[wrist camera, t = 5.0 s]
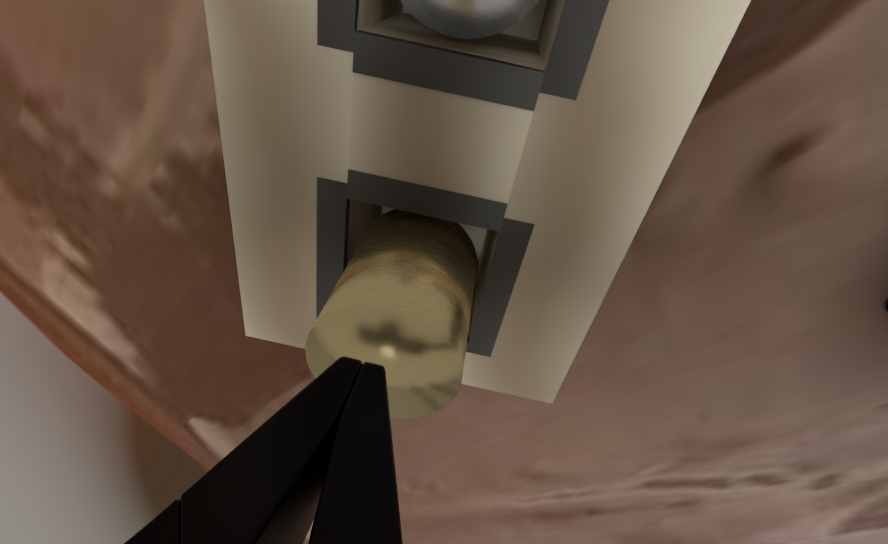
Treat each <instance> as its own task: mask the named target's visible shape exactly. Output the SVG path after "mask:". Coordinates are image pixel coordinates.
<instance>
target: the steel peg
mask: <svg viewBox="0 0 888 544" xmlns="http://www.w3.org/2000/svg"><path fill="white" fill-rule="evenodd" d="M539 1H540V0H400V2H401V3H402V4H403V6H404V7H405V8H406V9H407V10H408V11H409V12H410V13H411V15H412V16H414V17H415V18H416V19H417V20H418V21H420V22H421V23H422V24H424V25H425V26H427V27H428V28H430V29H431V30H434V31H436V32H438V33H440V34H443V35H446V36H450V37H453V38H461V39H477V38H483V37H488V36H491V35H494V34H497V33H499V32H502V31H504V30H506V29H508V28H509V27H511V26H513V25H514V24H516V23H517V22H519V21H520V20H521V19H522V18H523V17H525V16H526V15H527V14H528V13H529V12H530V11H531V10H532V9H533V8H534V7H535V6H536V5H537V3H538V2H539Z"/></svg>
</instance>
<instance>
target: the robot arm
mask: <svg viewBox="0 0 888 544" xmlns="http://www.w3.org/2000/svg"><path fill="white" fill-rule="evenodd" d="M886 310H887V312H888V305H887V306H886ZM314 517H315V518H314ZM313 520H314V522H313ZM312 522H313V526H312V530H311V535H310V539H309V543H308V544H403V543H402V533H401V523H400V513H399V503H398V493H397V483H396V473H395V463H394V453H393V443H392V432H391V422H390V412H389V402H388V392H387V382H386V372H385V368H384V366H382V365H379V364H375V363H370V362H364V363H362V361H361V360H358V359H354V358H350V357H346V356H343V357H340V358H339V359H337V360H336V361H335V362H334V363H333V364H332V365H330V366H329V367H328V368H327V369H326V370H325V371H324V372H322V373H321V374H320V375H319V376H318V377H317V378H315V379H314V380H313V381H312V382H311V383H310V384H309V385H307V386H306V387H305V388H304V389H303V390H302V391H300V392H299V393H298V394H297V395H296V396H295V397H294V398H292V399H291V400H290V401H289V402H288V403H287V404H286V405H284V406H283V407H282V408H281V409H280V410H279V411H277V412H276V413H275V414H274V415H273V416H272V417H271V418H269V419H268V420H267V421H266V422H265V423H264V424H263V425H261V426H260V427H259V428H258V429H257V430H256V431H254V432H253V433H252V434H251V435H250V436H249V437H248V438H246V439H245V440H244V441H243V442H242V443H241V444H240V445H238V446H237V447H236V448H235V449H234V450H233V451H231V452H230V453H229V454H228V455H227V456H226V457H225V458H223V459H222V460H221V461H220V462H219V463H218V464H216V465H215V466H214V467H213V468H212V469H211V470H210V471H208V472H207V473H206V474H205V475H204V476H203V477H202V478H200V479H199V480H198V481H197V482H196V483H195V484H193V485H192V486H191V487H190V488H189V489H188V490H187V491H185V492H184V493H183V494H182V495H181V497H180V501H179V500H175V501H174V502H172V503H171V504H170V505H169V506H168V507H167V508H166V509H164V510H163V511H162V512H161V513H160V514H159V515H158V516H156V517H155V518H154V519H153V520H152V521H151V522H149V523H148V524H147V525H146V526H145V527H143V528H142V529H141V530H140V531H139V532H138V533H136V534H135V535H134V536H133V537H131V538H130V539H129V540H128V541H126V542H125V543H124V544H303V542H304V540H305V538H306V535H307V533H308V531H309V529H310V526H311V524H312Z"/></svg>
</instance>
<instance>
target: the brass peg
mask: <svg viewBox="0 0 888 544" xmlns="http://www.w3.org/2000/svg"><path fill="white" fill-rule="evenodd" d="M476 271H477V254H476V250H475V246H474V244H473V242H472V240H471V238H470V237H469V235H468V233H467V232H466V231H465V230H464V229H463V227H461V226H460V225H459V224H458V223H457V222H452V221H448V220H443V219H439V218H434V217H429V216H425V215H420V214H416V213H411V212H407V211H402V210H397V209H394V210H391V211H388V212H386V213H385V214H383V215H381V216H380V217H378V218H377V219H376V220H375V221H374V222H373V223H372V224H371V225H370V227H369V228H368V229H367V231H366V233H365V235H364V237H363V238H362V240H361V242H360V244H359V245H358V247H357V249H356V251H355V252H354V254H353V256H352V258H351V260H350V261H349V263H348V265H347V267H346V268H345V270H344V272H343V274H342V275H341V277H340V279H339V281H338V282H337V284H336V286H335V288H334V290H333V291H332V293H331V295H330V297H329V298H328V300H327V302H326V304H325V305H324V307H323V309H322V311H321V313H320V314H319V316H318V318H317V320H316V321H315V323H314V325H313V327H312V328H311V330H310V332H309V334H308V337H307V340H306V346H305V353H306V359H307V363H308V366H309V368H310V370H311V372H312V374H313V375H314V377H315V378H317V377H318V376H319V375H320V374H321V373H322V372H324V371H325V370H326V369H327V368H328V367H329V366H330V365H332V364H333V363H334V362H335V361H336V360H337V359H339V358H340V357H343V356H346V357H350V358H354V359H358V360H361V361H362V363H364V362H370V363H375V364H379V365H382V366H384V368H385V372H386V382H387V392H388V402H389V412H390V418H392V419H410V418H417V417H422V416H426V415H429V414H432V413H434V412H437V411H438V410H440V409H442V408H444V407H445V406H446V405H447V404H449V403H450V402H451V401H452V400H453V398H454V397H455V396H456V394H457V393H458V391H459V388H460V386H461V381H462V375H463V368H464V360H465V353H466V345H467V338H468V330H469V323H470V315H471V308H472V301H473V293H474V286H475V278H476Z"/></svg>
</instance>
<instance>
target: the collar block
mask: <svg viewBox="0 0 888 544" xmlns="http://www.w3.org/2000/svg"><path fill="white" fill-rule="evenodd" d="M750 1H751V0H540V1H539V2H538V3H537V5H536V6H535V7H534V8H533V9H532V10H531V11H530V12H529V13H528V14H527V15H526V16H525V17H523V18H522V19H521V20H520V21H519V22H517V23H516V24H514V25H513V26H511V27H509V28H508V29H506V30H504V31H502V32H499V33H497V34H494V35H491V36H488V37H483V38H477V39H461V38H453V37H450V36H446V35H443V34H440V33H438V32H436V31H434V30H431V29H430V28H428V27H427V26H425V25H424V24H422V23H421V22H420V21H418V20H417V19H416V18H415V17H414V16H412V15H411V13H410V12H409V11H408V10H407V9H406V8H405V7H404V6H403V4H402V3H401V2H400V0H204V5H205V13H206V21H207V29H208V37H209V45H210V53H211V61H212V69H213V77H214V85H215V93H216V101H217V109H218V117H219V125H220V133H221V141H222V149H223V157H224V165H225V173H226V181H227V189H228V197H229V205H230V213H231V221H232V229H233V237H234V245H235V253H236V261H237V269H238V277H239V285H240V293H241V301H242V310H243V318H244V326H245V334H246V336H250V337H255V338H259V339H264V340H268V341H273V342H277V343H282V344H286V345H291V346H295V347H299V348H304V349H305V346H306V340H307V337H308V334H309V332H310V330H311V328H312V327H313V325H314V323H315V321H316V320H317V318H318V316H319V314H320V313H321V311H322V309H323V307H324V305H325V304H326V302H327V300H328V298H329V297H330V295H331V293H332V291H333V290H334V288H335V286H336V284H337V282H338V281H339V279H340V277H341V275H342V274H343V272H344V270H345V268H346V267H347V265H348V263H349V261H350V260H351V258H352V256H353V254H354V252H355V251H356V249H357V247H358V245H359V244H360V242H361V240H362V238H363V237H364V235H365V233H366V231H367V229H368V228H369V227H370V225H371V224H372V223H373V222H374V221H375V220H376V219H377V218H378V217H380V216H381V215H383V214H385V213H386V212H388V211H391V210H394V209H397V210H402V211H407V212H411V213H416V214H420V215H425V216H429V217H434V218H439V219H443V220H448V221H452V222H457V223H458V224H459V225H460V226H461V227H463V229H464V230H465V231H466V232H467V233H468V235H469V237H470V238H471V240H472V242H473V244H474V246H475V250H476V254H477V271H476V278H475V286H474V293H473V301H472V308H471V315H470V323H469V330H468V338H467V345H466V353H465V360H464V368H463V375H462V381H461V384H465V385H469V386H474V387H478V388H483V389H487V390H492V391H496V392H501V393H505V394H510V395H514V396H519V397H523V398H528V399H532V400H537V401H541V402H546V403H550V404H552V403H553V401H554V399H555V397H556V395H557V392H558V390H559V388H560V386H561V384H562V382H563V380H564V378H565V376H566V374H567V372H568V370H569V368H570V366H571V364H572V362H573V360H574V358H575V356H576V354H577V352H578V350H579V348H580V346H581V344H582V342H583V340H584V338H585V336H586V334H587V332H588V330H589V328H590V326H591V324H592V322H593V319H594V317H595V315H596V313H597V311H598V309H599V307H600V305H601V303H602V301H603V299H604V297H605V295H606V293H607V291H608V289H609V287H610V285H611V283H612V281H613V279H614V277H615V275H616V273H617V271H618V269H619V267H620V265H621V263H622V261H623V259H624V257H625V255H626V253H627V251H628V249H629V246H630V244H631V242H632V240H633V238H634V236H635V234H636V232H637V230H638V228H639V226H640V224H641V222H642V220H643V218H644V216H645V214H646V212H647V210H648V208H649V206H650V204H651V202H652V200H653V198H654V196H655V194H656V192H657V190H658V188H659V186H660V184H661V182H662V180H663V178H664V176H665V173H666V171H667V169H668V167H669V165H670V163H671V161H672V159H673V157H674V155H675V153H676V151H677V149H678V147H679V145H680V143H681V141H682V139H683V137H684V135H685V133H686V131H687V129H688V127H689V125H690V123H691V121H692V119H693V117H694V115H695V113H696V111H697V109H698V107H699V105H700V103H701V100H702V98H703V96H704V94H705V92H706V90H707V88H708V86H709V84H710V82H711V80H712V78H713V76H714V74H715V72H716V70H717V68H718V66H719V64H720V62H721V60H722V58H723V56H724V54H725V52H726V50H727V48H728V46H729V44H730V42H731V40H732V38H733V36H734V34H735V32H736V30H737V27H738V25H739V23H740V21H741V19H742V17H743V15H744V13H745V11H746V9H747V7H748V5H749V3H750Z"/></svg>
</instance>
